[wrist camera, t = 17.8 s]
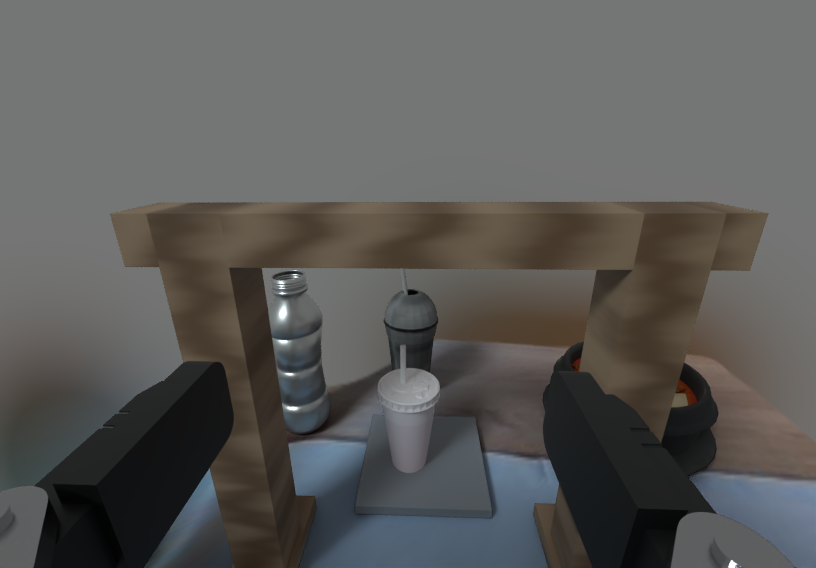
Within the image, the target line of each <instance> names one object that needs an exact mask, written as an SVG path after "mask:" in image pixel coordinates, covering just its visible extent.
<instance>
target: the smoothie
mask: <svg viewBox="0 0 816 568" xmlns="http://www.w3.org/2000/svg"><path fill="white" fill-rule="evenodd" d="M377 394H378V399H379V401H380V402H381V403H382V407H383V413H384V418H385V423H386V429H387V434H388V440H389V445H390V451H391V456H392V462H393V465H394V466H395V468H396V469H398V470H399V471H401V472H404V473H414V472H417V471H419V470H421V469H422V468H423V467H424V465H425V463H426V458H427V452H428V446H429V440H430V434H431V428H432V423H433V417H434V412H435V405H436V403H437V402H438V400H439V398H440V384H439V381H438V379H437V378H436V377H435V376H434V375H432V374H431V373H429V372H427V371H424V370H421V369H416V368H406V345H400V369H397V370H393V371H391V372H389V373H387V374H385V375H384V376H383V377H382V378H381V379H380V380H379V382H378V392H377Z"/></svg>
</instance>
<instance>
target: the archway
mask: <svg viewBox="0 0 816 568" xmlns="http://www.w3.org/2000/svg"><path fill="white" fill-rule="evenodd" d="M110 216H111V219H112V222H113V226H114V230H115V233H116V237H117V240H118V244H119V247H120V251H121V254H122V258H123V261H124V265H125V267H159V268H160V271H161V275H162V280H163V283H164V288H165V292H166V296H167V300H168V303H169V307H170V311H171V315H172V320H173V324H174V327H175V331H176V335H177V340H178V344H179V348H180V351H181V355H182V360H183V363H184V362H186V361H211V362H220V363H222V364H223V366H224V368H225V372H226V377H227V382H228V387H229V392H230V397H231V402H232V407H233V412H234V422H233V428H232V431H231V434H230V437H229V439H228V440H227V442H226V443H225V445H224V446H223V448H222V449H221V451H220V453H219V454H218V456H217V457H216V459H215V460H214V462H213V463H212V465H211V466H210V472H211V475H212V479H213V483H214V487H215V491H216V495H217V499H218V503H219V507H220V511H221V515H222V519H223V523H224V527H225V531H226V535H227V539H228V543H229V547H230V551H231V555H232V559H233V564H232V566H231V568H299V564H300V561H301V558H302V554H303V551H304V548H305V544H306V541H307V538H308V534H309V531H310V528H311V524H312V521H313V518H314V514H315V511H316V508H317V507H316V499H315V496H296V493H295V486H294V480H293V473H292V466H291V460H290V453H289V447H288V440H287V433H286V427H285V420H284V413H283V407H282V400H281V394H280V387H279V380H278V374H277V367H276V360H275V354H274V347H273V341H272V334H271V327H270V321H269V314H268V307H267V301H266V295H265V288H264V281H263V275H262V268H400V269H407V268H408V269H569V270H572V269H575V270H597V271H596V277H595V283H594V288H593V294H592V299H591V305H590V311H589V317H588V322H587V328H586V334H585V339H584V345H583V351H582V356H581V362H580V368H579V372H589V373H590V374H591V375H592V376H593V378H594V379H595V380H596V382H597V383H598V385H599V386H600V387H601V389H602V390H603V392H604V393H605V394H613V395H615V396H617V397H618V398H620V399H621V400H622V401H624V402H625V403H626V404H628V405H629V406H631V407H632V408H633V409H635V410H636V411H637V413H638V414H639V415H640V417H641V418H642V419H643V420H644V422H645V423H646V424H647V425H648V427H649V428H650V432H653V433H654V434H655V436H656V437H657V438H658V440H659V441H660V442H661V441H662V438H663V434H664V431H665V427H666V424H667V420H668V417H669V413H670V410H671V406H672V403H673V399H674V396H675V392H676V389H677V385H678V382H679V378H680V375H681V371H682V368H683V364H684V361H685V357H686V354H687V350H688V347H689V343H690V340H691V336H692V333H693V329H694V326H695V323H696V319H697V315H698V312H699V309H700V305H701V301H702V298H703V294H704V291H705V287H706V284H707V281H708V277H709V274H710V270H737V271H739V270H742V271H749V270H750V268H751V265H752V262H753V259H754V256H755V253H756V250H757V246H758V243H759V241H760V237H761V235H762V231H763V228H764V225H765V222H766V219H767V216H768V213H764V212H759V211H754V210H749V209H744V208H739V207H734V206H729V205H724V204H719V203H715V202H381V203H380V202H378V203H377V202H363V203H362V202H345V203H344V202H343V203H342V202H341V203H339V202H337V203H336V202H332V203H331V202H329V203H328V202H327V203H326V202H324V203H156V204H152V205H147V206H143V207H138V208H133V209H129V210H124V211H120V212H115V213H111V214H110ZM533 516H534V519H535V523H536V526H537V529H538V533H539V536H540V540H541V543H542V547H543V550H544V553H545V557H546V560H547V564H548V567H549V568H592V565H591V563H590V560H589V558H588V555H587V553H586V550H585V548H584V545H583V542H582V540H581V537H580V535H579V532H578V530H577V527H576V525H575V522H574V520H573V517H572V515H571V512H570V509H569V507H568V504H567V502H566V499H565V497H564V494H563V492H562V489H561V487H560V484H559V487H558V493H557V499H556V504H541V503H535V506H534V513H533Z"/></svg>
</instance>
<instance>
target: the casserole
mask: <svg viewBox="0 0 816 568" xmlns="http://www.w3.org/2000/svg"><path fill="white" fill-rule="evenodd" d="M583 345H584V342H581V343H578V344H576V345H574V346H571V347H570V348H569V349H568V350H567V351H566V353H565V355H564V356H562V357H561V358H560V359H559V360H558V361H557V362H556V364H555V366H554V372H555V371H573V372H579V368H580V362H581V356H582V351H583ZM549 386H550V384H549V385H548V386H547V387H546V389H545V391H544V393H543V404H544V408H545V411H546V405H547V399H548V392H549ZM717 417H718V410H717V405H716V403H715V401H714V400H713V398H712V396H711V391H710V387H709V385H708V383H707V382H706V380H705V379H704V378H703V377H702V376H701V375H700V374H699V373H698V372H697V371H696V370H694V369H693V368H692V367H690V366H689V365H687V364H686V363H684V364H683V368H682V371H681V375H680V378H679V382H678V385H677V389H676V392H675V396H674V399H673V403H672V406H671V410H670V413H669V417H668V420H667V424H666V427H665V431H664V434H663V438H662V441H661V443H662V447H663V448H666V450H667V451H668V452H669V454H670V455H671V456H672V457H673V459H674V460H675V461H676V463H677V464H678V465H679V466H680V468H681V469H682V470H683V471H684V473H685V474H686V475H687V476H689V475H691V474H693V473H695V472H697V471H699V470H701V469H703V468H705V467H707V466H708V465H709V464H710V463H711V462H712V460H713V459H714V457H715V453H716V443H715V438H714V436H713V434H712V432H711V430H710V427H711V426H712V425H713V424H714V423H715V422H716V420H717Z"/></svg>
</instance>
